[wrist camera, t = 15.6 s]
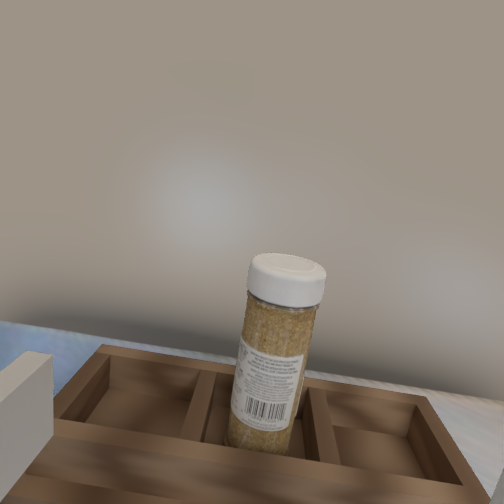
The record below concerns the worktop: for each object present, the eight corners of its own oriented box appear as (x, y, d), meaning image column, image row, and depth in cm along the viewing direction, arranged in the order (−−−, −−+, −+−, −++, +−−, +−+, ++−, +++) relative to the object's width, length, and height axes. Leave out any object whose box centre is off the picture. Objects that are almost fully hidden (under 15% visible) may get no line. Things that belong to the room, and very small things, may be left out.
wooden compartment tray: (419, 431, 31) (432, 388, 30) (506, 596, 19) (534, 536, 18) (94, 377, 31) (96, 334, 30) (-10, 508, 20) (-13, 445, 19)
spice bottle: (295, 439, 26) (334, 262, 23) (275, 488, 22) (319, 282, 19) (238, 415, 28) (266, 245, 24) (209, 457, 24) (238, 260, 20)
